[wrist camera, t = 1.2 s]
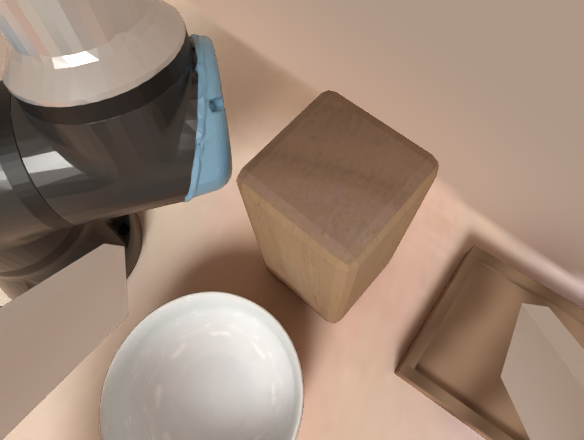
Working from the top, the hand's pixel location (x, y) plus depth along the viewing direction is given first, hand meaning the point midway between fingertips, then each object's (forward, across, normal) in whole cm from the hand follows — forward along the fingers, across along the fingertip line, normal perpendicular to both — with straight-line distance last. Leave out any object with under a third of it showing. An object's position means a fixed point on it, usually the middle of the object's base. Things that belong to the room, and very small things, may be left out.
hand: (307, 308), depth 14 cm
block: (+29, 0, -11) cm, 31 cm away
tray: (+25, +17, -16) cm, 34 cm away
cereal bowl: (+19, -9, -22) cm, 31 cm away
